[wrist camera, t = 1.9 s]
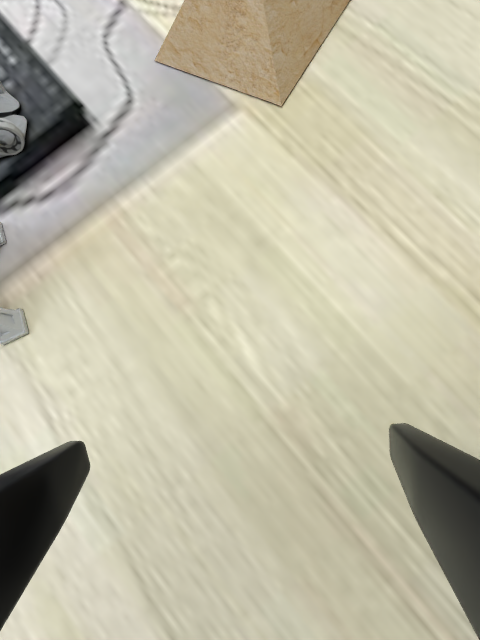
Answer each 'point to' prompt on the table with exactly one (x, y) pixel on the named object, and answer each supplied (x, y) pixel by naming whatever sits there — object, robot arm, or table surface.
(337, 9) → the model pyramid
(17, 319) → the eiffel tower
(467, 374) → the table surface
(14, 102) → the car model
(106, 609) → the table surface
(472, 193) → the table surface
